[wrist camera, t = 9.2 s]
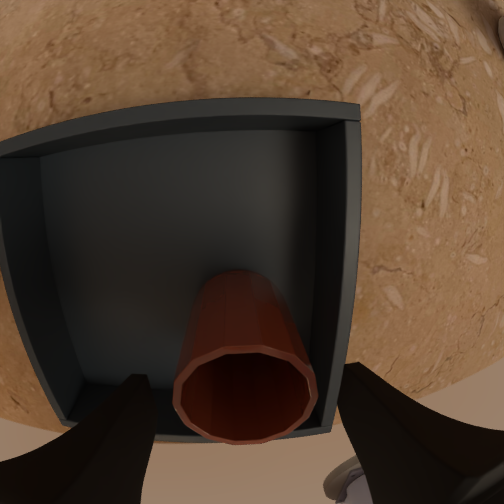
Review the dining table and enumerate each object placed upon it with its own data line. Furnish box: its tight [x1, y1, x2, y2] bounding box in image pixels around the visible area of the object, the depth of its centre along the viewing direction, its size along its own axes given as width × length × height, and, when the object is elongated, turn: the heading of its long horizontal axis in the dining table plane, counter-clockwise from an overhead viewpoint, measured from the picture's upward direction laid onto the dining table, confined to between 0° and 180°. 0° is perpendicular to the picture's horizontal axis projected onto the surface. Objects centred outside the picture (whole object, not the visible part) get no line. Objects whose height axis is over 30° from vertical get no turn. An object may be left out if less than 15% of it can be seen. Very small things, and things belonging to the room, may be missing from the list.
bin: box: [0, 97, 362, 443], centre depth 14 cm, size 16×16×5 cm
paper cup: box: [172, 270, 319, 445], centre depth 13 cm, size 5×5×7 cm
